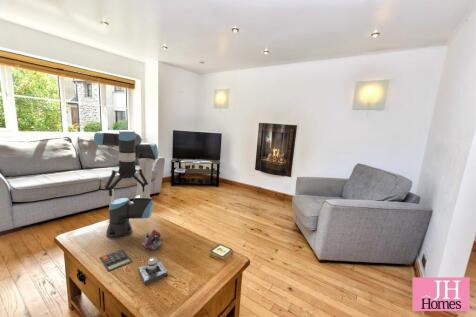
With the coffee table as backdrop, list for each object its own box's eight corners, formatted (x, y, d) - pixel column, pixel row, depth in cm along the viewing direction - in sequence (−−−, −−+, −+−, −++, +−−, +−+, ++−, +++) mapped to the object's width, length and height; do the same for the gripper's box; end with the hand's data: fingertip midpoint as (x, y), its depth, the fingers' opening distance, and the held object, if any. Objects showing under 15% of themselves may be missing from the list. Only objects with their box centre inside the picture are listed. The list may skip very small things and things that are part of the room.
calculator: (122, 248, 122) (132, 260, 112) (122, 250, 122) (132, 262, 112) (99, 256, 113) (108, 270, 104) (99, 258, 114) (108, 272, 104)
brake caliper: (155, 250, 120) (145, 232, 121) (143, 256, 124) (134, 238, 125) (168, 241, 130) (159, 224, 132) (157, 247, 134) (149, 230, 136)
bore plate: (138, 271, 106) (138, 267, 105) (160, 263, 113) (160, 260, 112) (144, 284, 97) (144, 280, 97) (167, 275, 104) (167, 271, 104)
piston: (146, 272, 105) (146, 258, 104) (155, 269, 108) (155, 255, 107) (148, 278, 102) (149, 263, 100) (158, 274, 105) (158, 260, 103)
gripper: (99, 163, 96) (100, 206, 99) (154, 160, 112) (153, 197, 115) (97, 160, 101) (98, 201, 104) (149, 158, 117) (149, 193, 121)
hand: (127, 199), depth 110 cm, fingers open, 13 cm apart
